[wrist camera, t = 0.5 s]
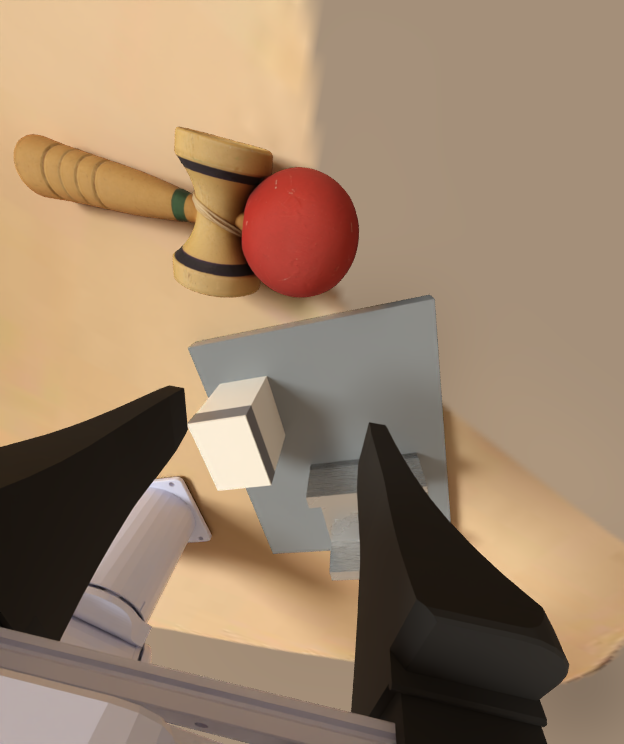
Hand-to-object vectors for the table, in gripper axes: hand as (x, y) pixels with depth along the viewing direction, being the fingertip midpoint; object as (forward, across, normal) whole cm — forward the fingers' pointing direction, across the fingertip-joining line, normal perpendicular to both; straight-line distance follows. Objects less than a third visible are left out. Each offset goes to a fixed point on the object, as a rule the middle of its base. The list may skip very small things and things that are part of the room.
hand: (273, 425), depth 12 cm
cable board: (+10, -3, +9) cm, 14 cm away
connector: (+9, +3, +6) cm, 11 cm away
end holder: (+8, -7, +13) cm, 17 cm away
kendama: (+11, +7, -6) cm, 14 cm away
